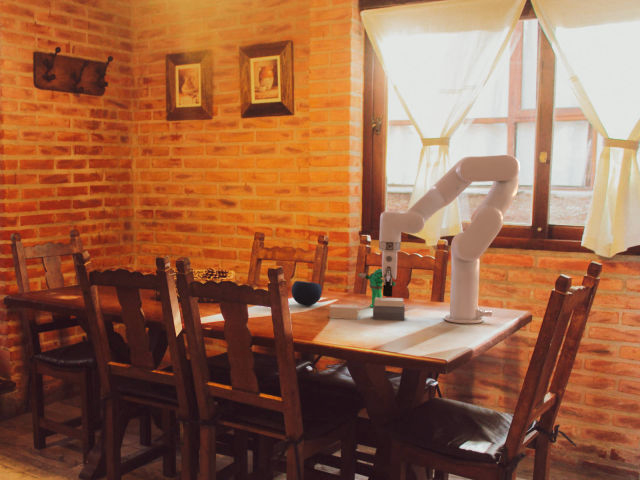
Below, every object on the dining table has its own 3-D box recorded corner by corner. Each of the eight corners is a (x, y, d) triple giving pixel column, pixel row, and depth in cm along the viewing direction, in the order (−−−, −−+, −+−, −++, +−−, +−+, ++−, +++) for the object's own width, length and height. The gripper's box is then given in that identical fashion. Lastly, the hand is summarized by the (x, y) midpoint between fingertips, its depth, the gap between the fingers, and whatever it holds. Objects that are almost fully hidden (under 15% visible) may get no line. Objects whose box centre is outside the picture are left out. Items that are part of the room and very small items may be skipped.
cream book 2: (358, 315, 274) (358, 310, 274) (357, 318, 268) (357, 313, 268) (330, 314, 276) (330, 309, 276) (329, 317, 271) (329, 312, 270)
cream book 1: (358, 310, 274) (358, 305, 274) (357, 313, 268) (357, 308, 268) (330, 309, 276) (330, 304, 276) (329, 312, 270) (329, 307, 270)
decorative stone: (320, 308, 288) (321, 283, 287) (290, 308, 290) (290, 282, 289) (322, 303, 300) (322, 278, 299) (292, 302, 302) (292, 278, 300)
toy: (404, 313, 279) (405, 273, 277) (390, 314, 276) (390, 274, 274) (368, 302, 302) (368, 265, 301) (354, 303, 300) (354, 266, 298)
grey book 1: (404, 310, 270) (404, 304, 270) (404, 313, 265) (404, 306, 265) (373, 309, 272) (373, 303, 272) (373, 312, 268) (373, 305, 267)
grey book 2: (404, 317, 270) (404, 310, 270) (404, 320, 266) (404, 313, 265) (373, 316, 273) (373, 309, 272) (372, 319, 268) (373, 312, 268)
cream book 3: (403, 303, 270) (403, 298, 270) (403, 306, 265) (403, 301, 264) (375, 302, 272) (375, 297, 272) (374, 305, 267) (374, 300, 266)
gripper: (400, 249, 257) (398, 298, 259) (400, 244, 273) (398, 290, 276) (378, 248, 258) (376, 297, 260) (379, 243, 275) (377, 289, 277)
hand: (387, 294), depth 268 cm, fingers open, 9 cm apart
